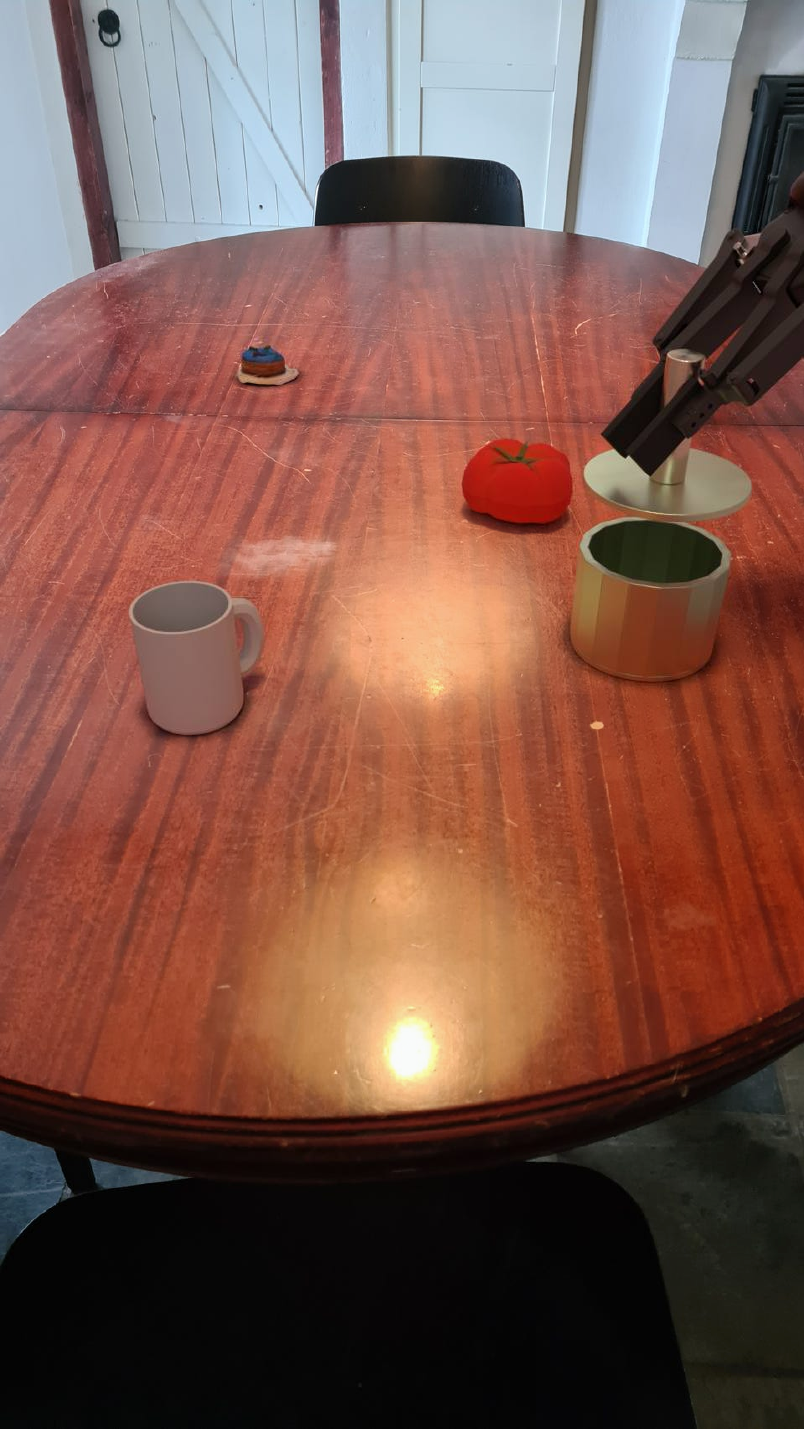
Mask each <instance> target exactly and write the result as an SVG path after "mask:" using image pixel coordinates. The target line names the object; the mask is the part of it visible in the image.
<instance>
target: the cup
mask: <svg viewBox="0 0 804 1429" xmlns="http://www.w3.org/2000/svg"><path fill="white" fill-rule="evenodd" d="M128 616H129V620H130V626H131V631H132V635H133V636H132V637H133V642H134V647H135V652H136V658H137V662H138V667H139V668H138V669H139V672H140V678H141V684H142V688H143V694H144V698H145V703H146V709H147V712H148V716H149V717H150V719H151V720H152V722H153V723H154V724H155V725H157V726H158V727H160V728H161V729H163V731H166V732H169V733H172V734H175V735H176V734H177V735H182V736H194V735H195V736H196V735H197V736H198V735H203V734H209V733H212V732H214V731H217V730H220V729H222V728H223V727H225V726H227V725H229V724H230V723H231V722H232V721H234V720H235V719H236V718H237V716H238V714H239V713H240V711H241V709H242V708H243V706H244V705H243V704H244V685H243V677H245V676H247V675H248V674H249V673H250V672H251V671H253V670H254V669H255V667H256V666H257V664H258V663H259V662H260V660H261V659H262V658H261V657H262V654H263V652H264V647H265V628H264V624H263V621H262V617H261V615H260V612H259V609H258V608H257V607H256V606H255V605H254V603H253V602H252V601H250V600H248V599H246V598H245V597H232V596H231V595H230V594H229V592H228V591H227V590H226V589H224V588H223V587H221V586H219V585H217V584H215V583H210V582H206V581H197V580H178V581H172V582H167V583H163V584H160V585H156V586H154V587H152V588H149V589H147V590H145V591H143V592H142V593H141V594H139V595H138V596H136V598H135V599H134V600H133V601H132V602H131V604H130V606H129V609H128ZM237 619H238V620H239V621H240V623H241V626H242V634H243V635H242V645H241V648H240V651H239V645H238V636H237V628H236V620H237Z"/></svg>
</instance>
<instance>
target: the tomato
mask: <svg viewBox="0 0 804 1429" xmlns="http://www.w3.org/2000/svg"><path fill="white" fill-rule="evenodd" d="M528 443H529V442H528V441H526V442H525V443H523V442H522V441H520V440H519V439H513V438H507V437H505V438H499V439H494V440H493V441H491V442H489V443H487V444H486V445H484V446H483V447H481V448H480V449H479V450H477V452H476V453H475V455H474V456H472V457H471V458H470V459H469V460H468V461H467V462H468V463H467V464H466V466H465V468H464V470H463V474H462V479H461V480H462V481H461V489H462V490H461V491H462V496H463V498H464V500H465V502H466V504H467V506H468V507H469V509H470V510H472V511H474V512H476V513H482V514H488V515H490V516H491V517H493V518H495V519H498V520H500V521H501V520H502V521H506V522H511V523H516V524H529V523H533V524H541V525H544V524H547V523H551V522H554V521H555V520H558V519H559V518H560V517H561V516H562V515H563V514H564V513H565V511H566V510H567V508H568V507H569V505H570V504H571V500H572V496H573V492H574V484H573V483H574V482H573V475H572V472H571V463H570V461H569V459H568V456H567V455H566V453H563V452H561V451H559V450H557V448H555V447H554V446H552V445H551V444H548V443H544V442H536V443H535V442H534V443H532V444H530V445H528Z"/></svg>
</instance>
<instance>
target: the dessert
mask: <svg viewBox="0 0 804 1429" xmlns="http://www.w3.org/2000/svg"><path fill="white" fill-rule="evenodd" d="M239 358H241V359H240V361H241V364H240V367H239V369H238V371H237V379H238V382H240V383H241V384H246V383H250V384H251V383H252V384H257V385H277V386H281V385H284V384H286V383H288V382H290V381H292V380H295V378H297V377H298V375H299V371H298V370H297V369H296V367H293V368H291V367H290V366H289V365H287V364H286V360H285V357H284V355H283V354H282V353H280V352H278V351H277V350H275V349H274V348H272V346H271V344H267V345H265V346H264V347H255V346H252V345H250V346H249V347H248V349H246V350H244V352H242V354H241V355H240V357H239Z"/></svg>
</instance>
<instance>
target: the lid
mask: <svg viewBox="0 0 804 1429" xmlns="http://www.w3.org/2000/svg"><path fill="white" fill-rule="evenodd" d="M705 359H706V357H705V355H704V354H703V353H701V352H699V351H695V350H690V349H677V350H672V351H670V352H668V353H667V358H666V364H665V371H664V378H663V384H662V391H661V398H660V404H659V411H658V414H659V413H660V412H661V410H662V409H663V408H664V407H665V406H666V405H667V404H668V403H669V401H670V400H671V399H672V398H673V397H674V396H675V395H676V394H677V393H678V391H679V390H680V389H681V388H682V387H683V386H684V385H685V384H686V382H687V381H688V380H689V379H690V378H691V377H693V378H694V379H696V380H698V381H699V382H700V384H701V385H702V383H703V381H702V380H701V379H700V377H699V376H698V370H699V368H701V369H705V363H706V360H707V359H706V360H705ZM692 438H693V436H692V437H690V438H689V439H687V438H685V439H684V440H683V441H682V442H681V444H680V445H679V446H678V447H677V448H676V449H675V450H674V451H673V452H672V454H671V455H670V456H669V457H668V458H667V459H666V460H665V461H664V462H663V463H662V465H661V466H660V467H659V468H658V469H657V470H656V471H655V472H654V473H653V474H652V476H651V477H650V476H649V475H647V474H646V473H645V472H644V471H643V470H642V469H641V468H640V467H639V466H638V465H637V464H636V463H635V462H634V461H633V460H632V458H631V457H630V456H628V457H627V458H626V459H625V458H623V457H622V456H621V455H619V454H618V452H617V451H616V450H615V449H614V448H612V449H608V450H607V451H603V452H601V453H599V454H597V455H595V456H594V457H592V458H590V460H589V461H588V462H587V463H586V464H585V466H584V468H583V472H582V485H583V487H584V489H585V491H586V492H587V493H588V494H589V496H590V497H592V499H594V500H595V501H597V502H598V503H599V504H601V505H603V506H605V507H607V508H609V509H611V510H613V511H616V512H619V513H622V514H624V515H627V516H630V517H639V518H643V519H649V520H655V521H665V522H685V523H698V522H707V521H713V520H717V519H721V518H724V517H727V516H730V515H733V514H735V513H736V512H738V511H740V510H742V509H743V508H744V507H745V506H746V505H747V504H748V502H749V501H750V498H751V496H752V491H753V483H752V481H751V477H750V476H749V474H748V473H746V471H745V470H743V469H742V468H741V467H739V466H738V465H737V464H736V463H733V461H730V460H728V459H726V458H724V457H722V456H719V455H716V454H713V453H710V452H708V451H704V450H700V449H696V448H691V446H692V440H693V439H692Z"/></svg>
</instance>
